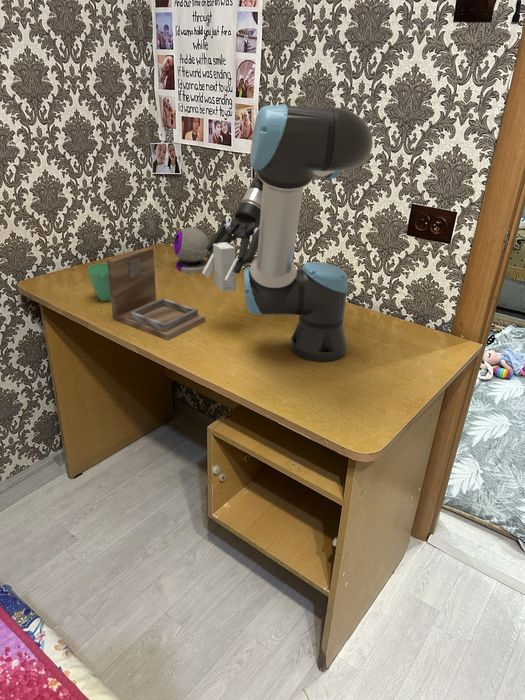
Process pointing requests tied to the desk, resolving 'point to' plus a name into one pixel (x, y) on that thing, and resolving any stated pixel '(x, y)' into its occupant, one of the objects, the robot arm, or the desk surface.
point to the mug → (100, 280)
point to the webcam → (191, 250)
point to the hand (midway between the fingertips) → (216, 278)
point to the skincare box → (223, 265)
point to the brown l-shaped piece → (145, 298)
